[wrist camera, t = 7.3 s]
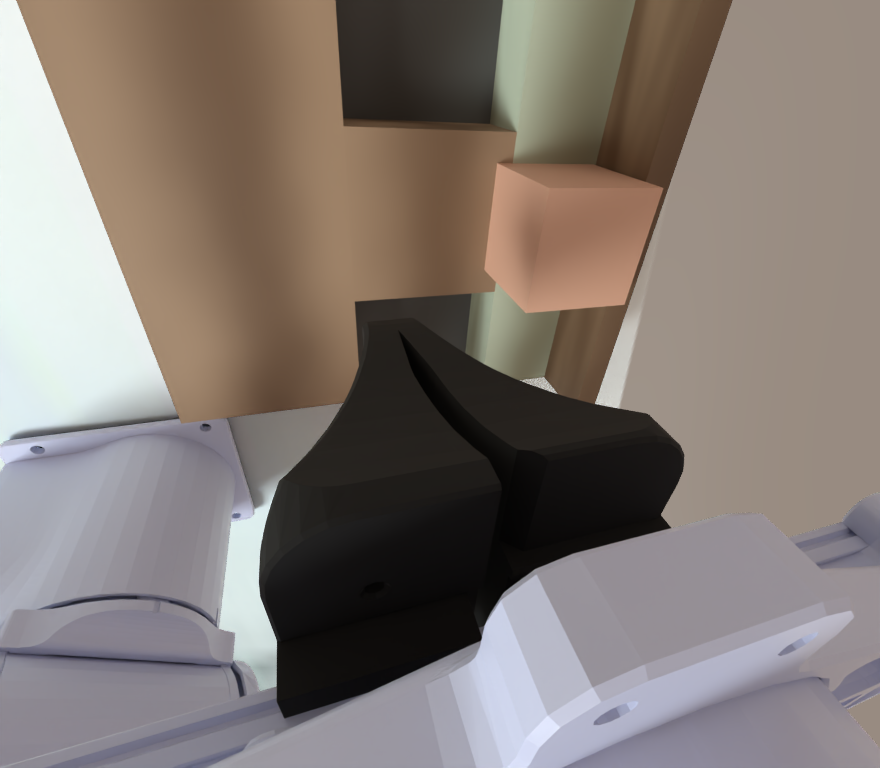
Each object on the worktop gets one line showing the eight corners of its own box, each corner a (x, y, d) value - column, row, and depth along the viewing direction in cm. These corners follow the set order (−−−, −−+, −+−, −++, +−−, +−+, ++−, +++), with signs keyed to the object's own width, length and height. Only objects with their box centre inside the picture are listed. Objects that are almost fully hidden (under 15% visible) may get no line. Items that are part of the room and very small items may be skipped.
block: (484, 269, 18) (525, 313, 15) (497, 163, 16) (549, 188, 13) (569, 265, 19) (624, 304, 16) (593, 164, 17) (663, 187, 14)
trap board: (192, 382, 20) (166, 476, 16) (19, -124, 11) (-171, -255, 6) (535, 345, 25) (592, 410, 20) (617, -33, 16) (756, -72, 11)
